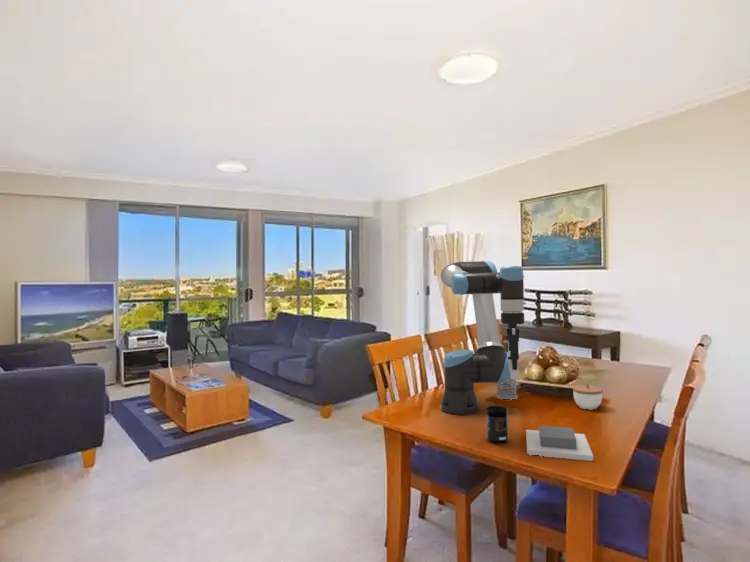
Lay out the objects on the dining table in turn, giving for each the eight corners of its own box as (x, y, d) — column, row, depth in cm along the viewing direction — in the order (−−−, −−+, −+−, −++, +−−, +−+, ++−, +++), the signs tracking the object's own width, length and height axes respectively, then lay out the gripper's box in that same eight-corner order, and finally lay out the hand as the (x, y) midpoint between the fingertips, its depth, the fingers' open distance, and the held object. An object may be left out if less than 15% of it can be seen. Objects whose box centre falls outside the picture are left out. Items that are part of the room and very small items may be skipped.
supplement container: (499, 435, 151) (498, 404, 151) (512, 442, 145) (512, 410, 145) (482, 438, 149) (482, 407, 148) (495, 445, 142) (495, 413, 142)
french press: (518, 400, 191) (517, 342, 190) (490, 399, 194) (489, 341, 194) (518, 394, 200) (517, 338, 199) (492, 393, 204) (490, 338, 203)
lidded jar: (606, 412, 173) (606, 387, 172) (576, 411, 175) (576, 387, 175) (598, 404, 183) (598, 381, 183) (570, 403, 185) (570, 380, 185)
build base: (527, 455, 135) (527, 440, 135) (526, 434, 152) (525, 420, 152) (593, 461, 129) (593, 445, 129) (584, 438, 146) (584, 424, 146)
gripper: (526, 315, 138) (528, 384, 138) (521, 309, 162) (523, 367, 162) (501, 315, 140) (503, 383, 140) (500, 309, 164) (501, 367, 164)
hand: (513, 374), depth 151 cm, fingers open, 13 cm apart
